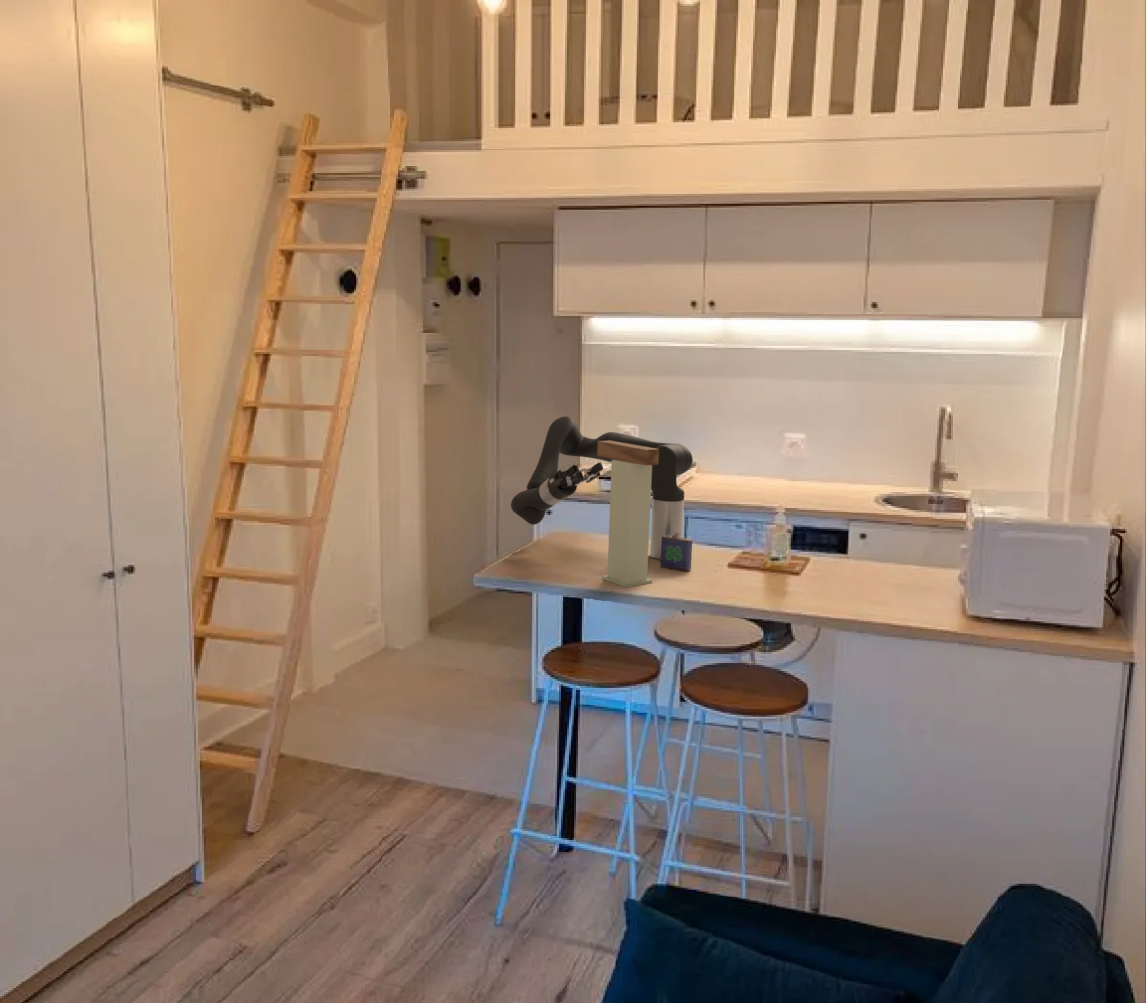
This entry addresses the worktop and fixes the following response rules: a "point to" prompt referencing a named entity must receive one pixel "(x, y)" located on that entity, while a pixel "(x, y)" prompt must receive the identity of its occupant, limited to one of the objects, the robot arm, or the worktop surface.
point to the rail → (628, 452)
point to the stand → (629, 524)
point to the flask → (676, 553)
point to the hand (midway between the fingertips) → (589, 466)
